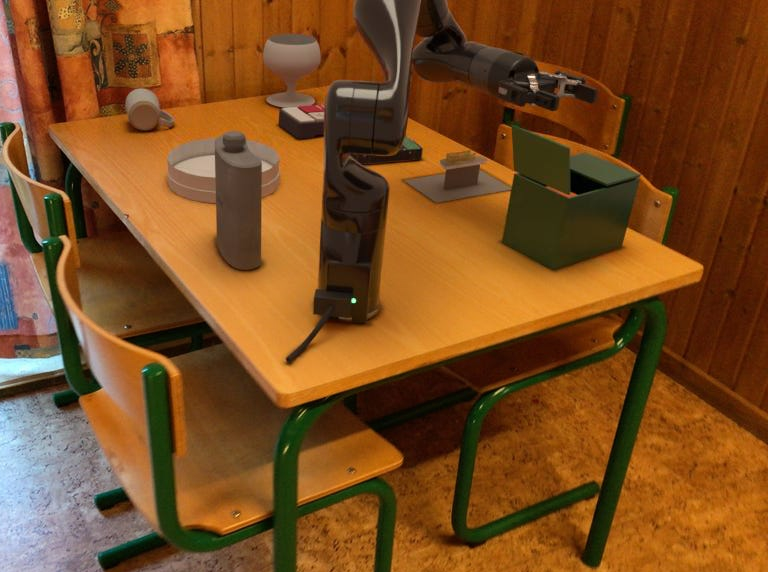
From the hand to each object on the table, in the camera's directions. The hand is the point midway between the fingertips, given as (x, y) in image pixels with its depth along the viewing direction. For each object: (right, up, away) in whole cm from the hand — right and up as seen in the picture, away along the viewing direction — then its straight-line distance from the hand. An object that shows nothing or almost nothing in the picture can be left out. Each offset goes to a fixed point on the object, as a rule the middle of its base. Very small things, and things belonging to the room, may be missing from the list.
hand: (576, 100), depth 130 cm
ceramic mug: (-76, +13, +63) cm, 99 cm away
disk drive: (-25, +4, +51) cm, 57 cm away
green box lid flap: (-5, -9, +2) cm, 10 cm away
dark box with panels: (-38, +13, +64) cm, 76 cm away
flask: (-53, -22, +11) cm, 59 cm away
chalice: (-44, +24, +80) cm, 95 cm away
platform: (-11, -5, +38) cm, 40 cm away
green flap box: (+3, -20, +16) cm, 26 cm away
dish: (-57, -5, +36) cm, 68 cm away
